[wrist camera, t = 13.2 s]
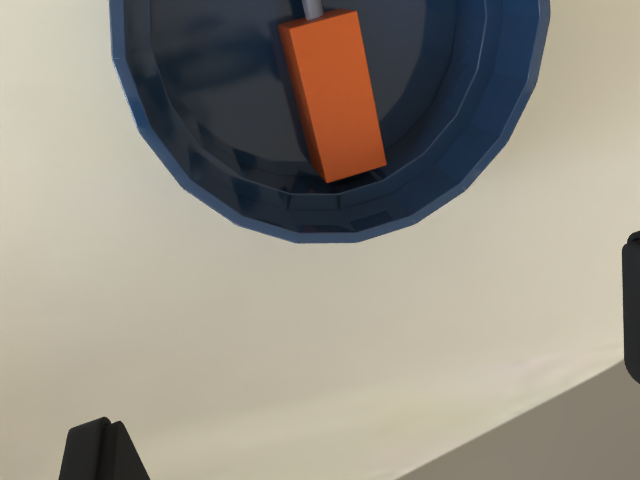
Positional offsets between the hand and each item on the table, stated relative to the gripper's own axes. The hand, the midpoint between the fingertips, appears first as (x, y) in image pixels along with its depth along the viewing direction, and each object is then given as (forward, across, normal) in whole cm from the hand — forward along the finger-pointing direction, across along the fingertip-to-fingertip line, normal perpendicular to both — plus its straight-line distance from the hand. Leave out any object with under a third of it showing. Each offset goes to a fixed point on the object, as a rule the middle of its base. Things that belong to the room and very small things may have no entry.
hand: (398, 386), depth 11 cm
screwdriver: (+21, -4, -4) cm, 22 cm away
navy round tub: (+21, -5, -4) cm, 22 cm away
